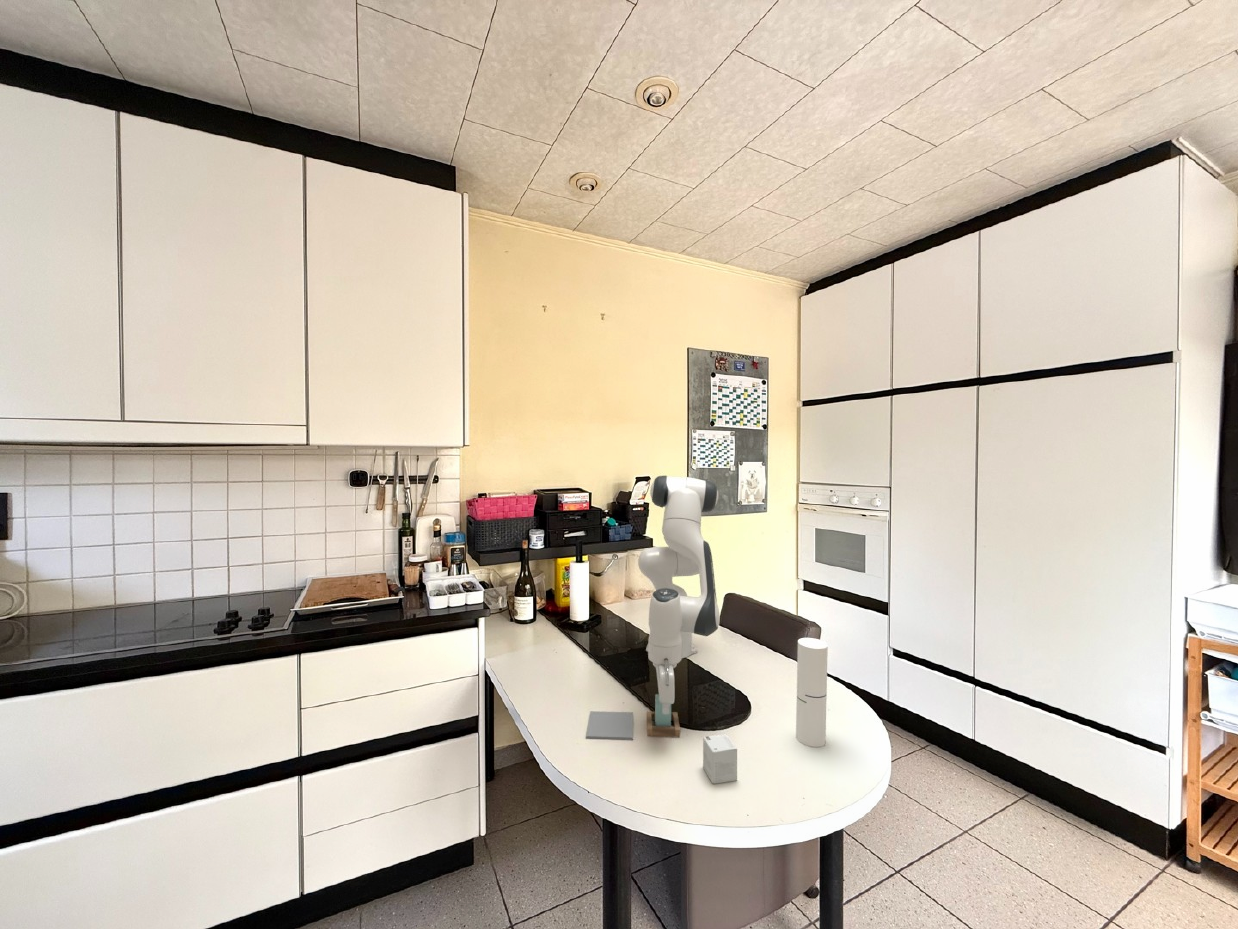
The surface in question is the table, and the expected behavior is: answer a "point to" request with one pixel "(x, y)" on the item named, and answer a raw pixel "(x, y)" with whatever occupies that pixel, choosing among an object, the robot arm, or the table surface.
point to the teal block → (661, 714)
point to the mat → (610, 725)
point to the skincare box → (719, 758)
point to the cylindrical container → (811, 692)
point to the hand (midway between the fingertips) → (664, 703)
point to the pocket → (663, 731)
